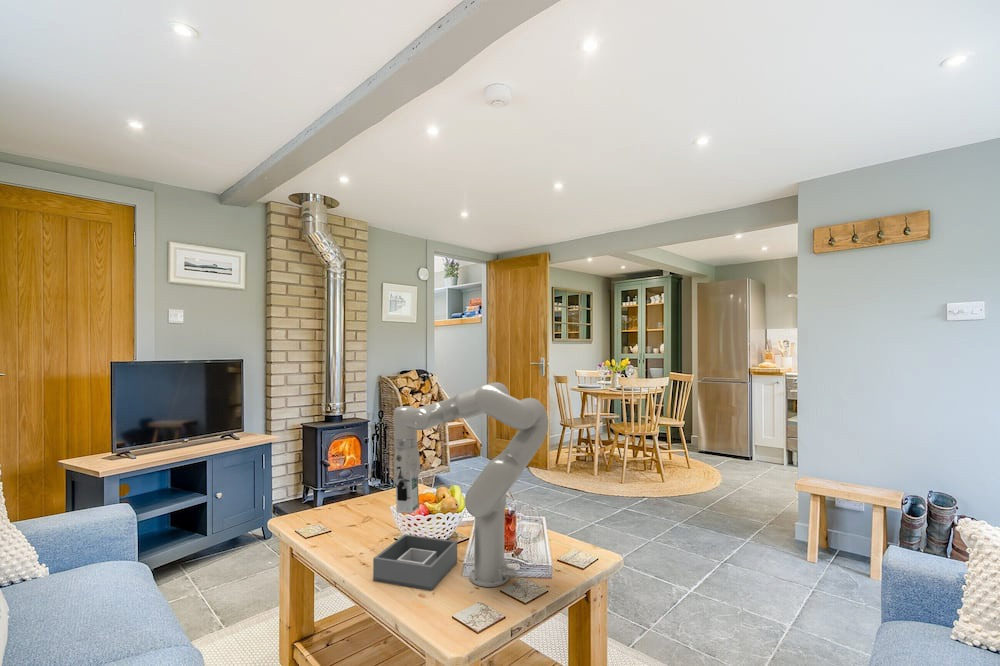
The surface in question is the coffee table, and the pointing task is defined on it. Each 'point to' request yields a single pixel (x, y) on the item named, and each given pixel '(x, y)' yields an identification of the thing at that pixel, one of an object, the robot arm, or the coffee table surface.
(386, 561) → the walled box
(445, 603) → the coffee table surface
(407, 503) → the syrup box
